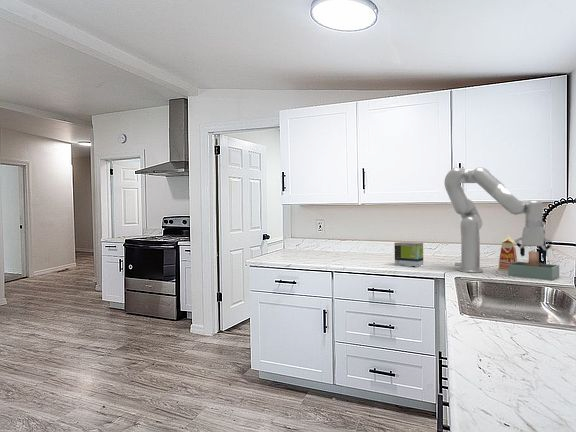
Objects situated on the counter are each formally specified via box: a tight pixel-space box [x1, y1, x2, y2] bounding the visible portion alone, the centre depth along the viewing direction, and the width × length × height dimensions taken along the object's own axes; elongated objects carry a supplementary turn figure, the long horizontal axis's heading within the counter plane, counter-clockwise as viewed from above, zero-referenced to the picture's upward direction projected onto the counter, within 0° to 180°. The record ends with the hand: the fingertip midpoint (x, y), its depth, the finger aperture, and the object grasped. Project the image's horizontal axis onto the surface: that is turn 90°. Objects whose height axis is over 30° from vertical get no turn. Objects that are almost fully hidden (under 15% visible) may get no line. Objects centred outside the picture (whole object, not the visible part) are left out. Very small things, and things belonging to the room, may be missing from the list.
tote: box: [508, 261, 560, 281], centre depth 204 cm, size 20×14×6 cm
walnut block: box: [525, 261, 543, 267], centre depth 204 cm, size 6×6×6 cm
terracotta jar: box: [528, 250, 540, 264], centre depth 203 cm, size 4×4×6 cm
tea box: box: [394, 241, 424, 268], centre depth 245 cm, size 15×10×15 cm
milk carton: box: [497, 234, 518, 272], centre depth 223 cm, size 9×9×20 cm
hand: (533, 256), depth 203 cm, fingers open, 9 cm apart
